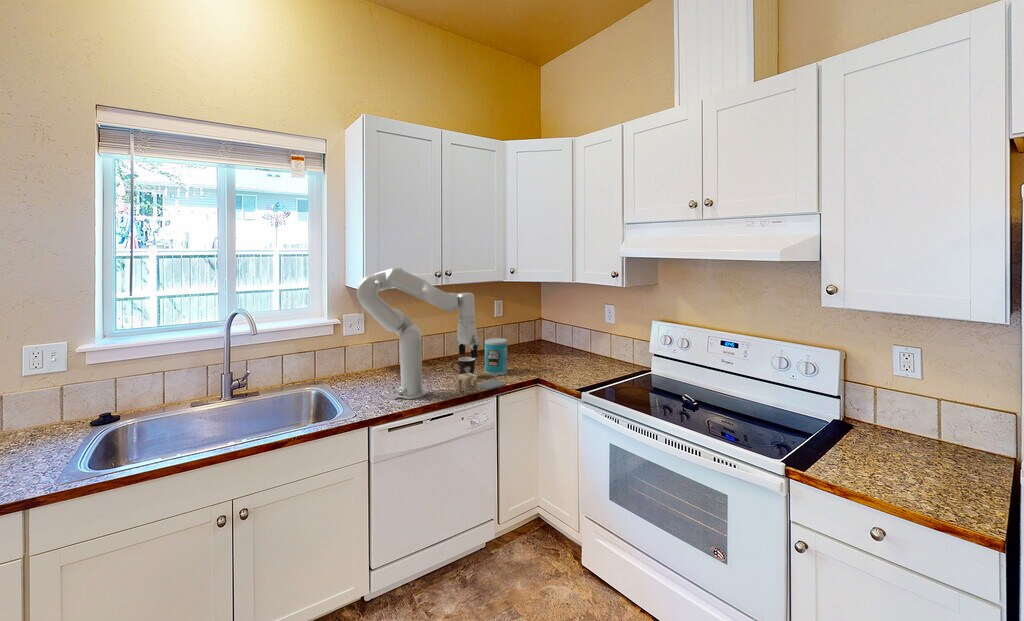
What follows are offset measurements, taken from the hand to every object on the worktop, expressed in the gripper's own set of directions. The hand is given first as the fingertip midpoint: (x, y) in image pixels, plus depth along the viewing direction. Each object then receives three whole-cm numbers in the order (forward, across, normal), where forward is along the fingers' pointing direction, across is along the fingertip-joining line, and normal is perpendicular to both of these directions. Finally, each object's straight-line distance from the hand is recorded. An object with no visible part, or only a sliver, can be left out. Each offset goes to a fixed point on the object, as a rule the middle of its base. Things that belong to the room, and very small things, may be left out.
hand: (468, 355), depth 209 cm
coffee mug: (+18, -20, +11) cm, 29 cm away
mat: (+18, 0, +13) cm, 22 cm away
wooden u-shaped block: (+17, 0, -1) cm, 17 cm away
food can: (+18, -16, +29) cm, 38 cm away
